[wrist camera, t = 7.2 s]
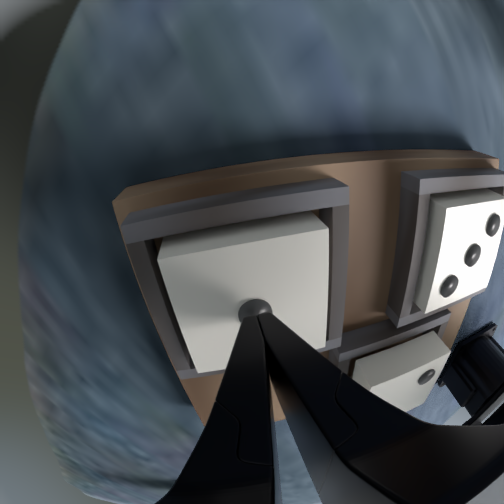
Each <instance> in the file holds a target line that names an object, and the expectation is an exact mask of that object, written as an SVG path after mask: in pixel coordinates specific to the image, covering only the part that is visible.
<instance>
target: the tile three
mask: <svg viewBox="0 0 504 504" xmlns="http://www.w3.org/2000/svg"><path fill="white" fill-rule="evenodd" d="M503 225H504V196H502V195H500V194H498V193H496V192H494V191H492V190H489V189H487V188H478V189H469V190H459V191H450V192H441V193H432V194H430V204H429V213H428V222H427V230H426V237H425V243H424V250H423V255H422V261H421V266H420V272H419V277H418V281H417V286H416V291H415V295H414V299H413V302H414V303H415V304H416V305H417V306H418V307H419V308H420V309H421V310H422V312H423V313H424V314H426V313H428V312H431V311H433V310H436V309H438V308H441V307H443V306H445V305H448V304H450V303H452V302H455V301H457V300H459V299H462V298H464V297H466V296H468V295H470V294H473V293H475V292H477V291H479V290H481V289H483V288H485V287H487V285H488V282H489V279H490V276H491V272H492V269H493V266H494V262H495V259H496V255H497V251H498V247H499V243H500V239H501V235H502V230H503Z"/></svg>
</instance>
